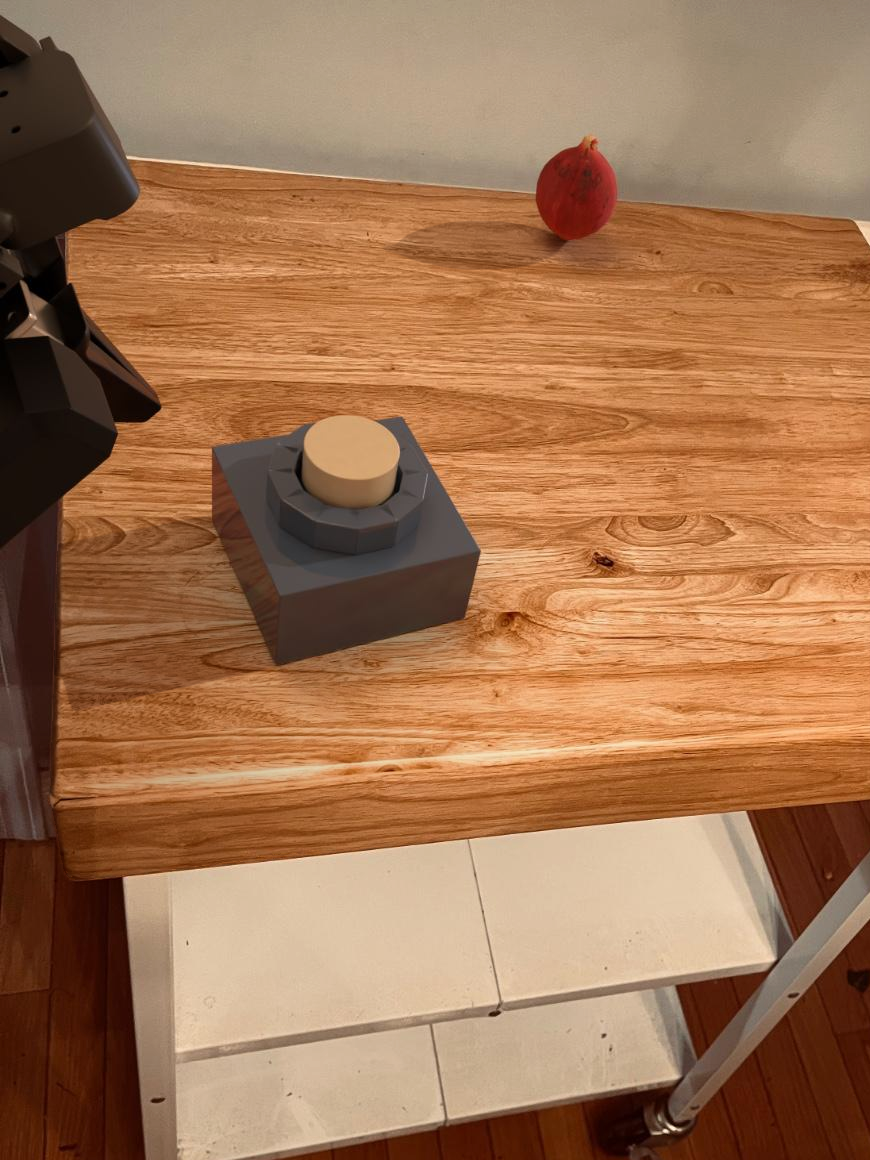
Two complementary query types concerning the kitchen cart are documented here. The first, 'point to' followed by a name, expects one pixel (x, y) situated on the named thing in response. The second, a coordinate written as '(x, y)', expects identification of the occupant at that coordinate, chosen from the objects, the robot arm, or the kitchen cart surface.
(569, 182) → the pomegranate
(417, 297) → the kitchen cart surface
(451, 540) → the grey button base
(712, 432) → the kitchen cart surface
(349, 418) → the tan push button
